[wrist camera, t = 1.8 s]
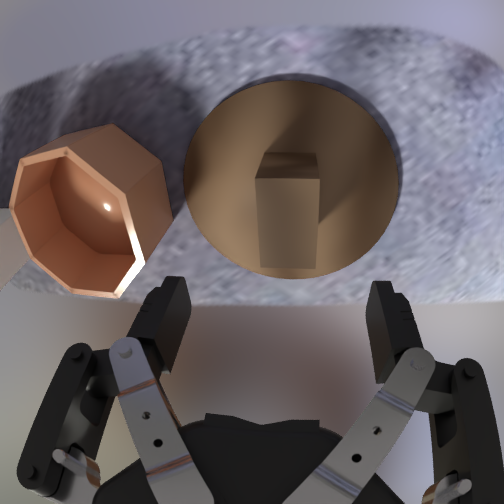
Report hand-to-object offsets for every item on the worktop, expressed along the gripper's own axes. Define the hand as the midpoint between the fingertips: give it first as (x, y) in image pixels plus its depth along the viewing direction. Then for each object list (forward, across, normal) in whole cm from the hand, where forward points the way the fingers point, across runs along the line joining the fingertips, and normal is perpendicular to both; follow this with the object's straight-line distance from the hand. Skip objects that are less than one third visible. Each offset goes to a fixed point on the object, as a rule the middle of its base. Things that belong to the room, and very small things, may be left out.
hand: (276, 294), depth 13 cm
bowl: (+12, +16, 0) cm, 20 cm away
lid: (+12, 0, 0) cm, 12 cm away
